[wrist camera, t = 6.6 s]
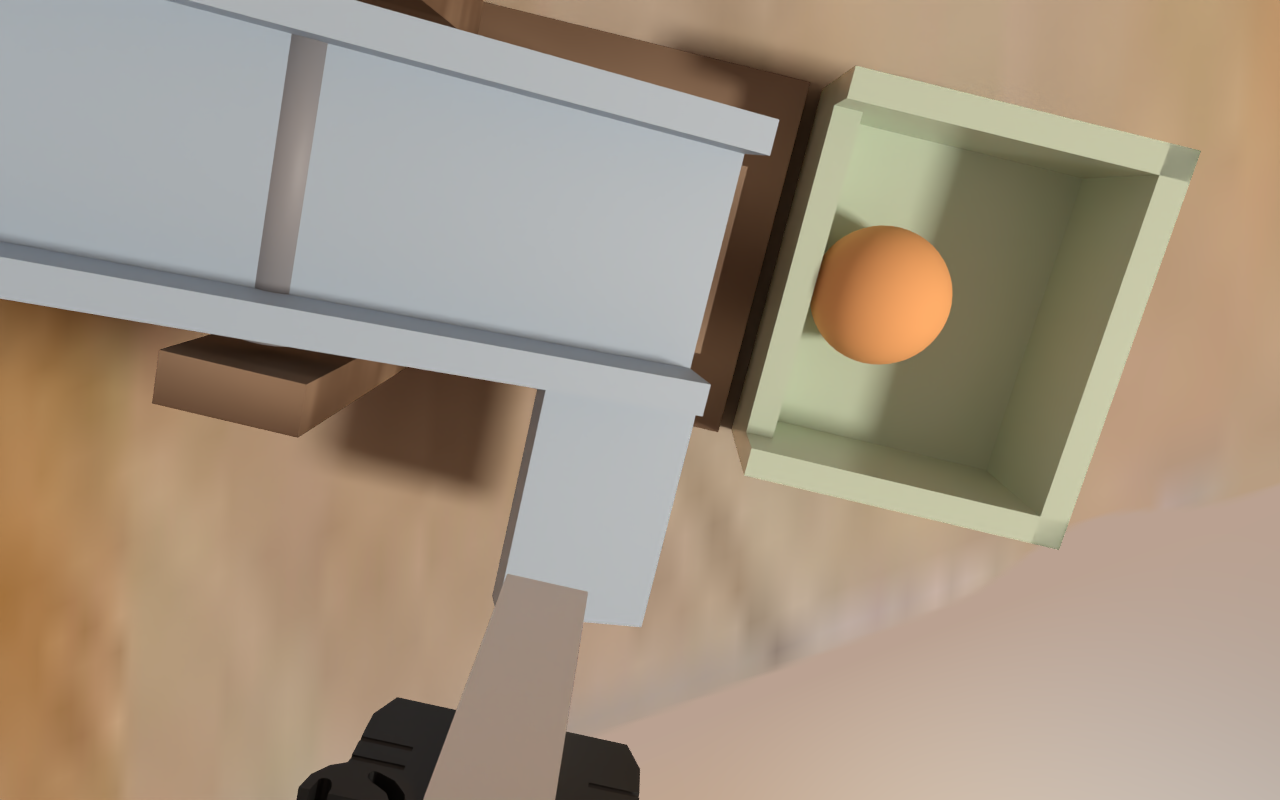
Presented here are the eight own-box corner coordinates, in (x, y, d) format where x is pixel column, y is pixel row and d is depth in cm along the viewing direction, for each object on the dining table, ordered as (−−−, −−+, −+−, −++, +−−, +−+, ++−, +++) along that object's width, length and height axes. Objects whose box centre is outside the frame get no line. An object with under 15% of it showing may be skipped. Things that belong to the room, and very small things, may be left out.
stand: (62, -98, 28) (-295, -273, 18) (806, 85, 28) (886, 20, 18) (28, 262, 30) (-304, 295, 20) (716, 426, 31) (742, 541, 20)
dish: (822, 89, 28) (855, 65, 23) (1106, 159, 29) (1201, 150, 24) (731, 429, 31) (744, 475, 26) (994, 492, 31) (1059, 549, 26)
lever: (-240, -172, 17) (-427, -263, 13) (755, 109, 24) (832, 105, 20) (-259, 519, 20) (-417, 615, 16) (630, 606, 26) (674, 690, 23)
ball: (821, 210, 29) (842, 211, 25) (949, 241, 29) (989, 246, 25) (787, 336, 29) (802, 356, 25) (910, 366, 29) (944, 391, 25)
